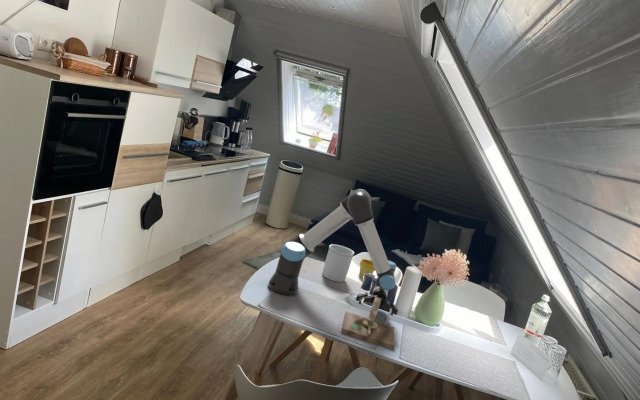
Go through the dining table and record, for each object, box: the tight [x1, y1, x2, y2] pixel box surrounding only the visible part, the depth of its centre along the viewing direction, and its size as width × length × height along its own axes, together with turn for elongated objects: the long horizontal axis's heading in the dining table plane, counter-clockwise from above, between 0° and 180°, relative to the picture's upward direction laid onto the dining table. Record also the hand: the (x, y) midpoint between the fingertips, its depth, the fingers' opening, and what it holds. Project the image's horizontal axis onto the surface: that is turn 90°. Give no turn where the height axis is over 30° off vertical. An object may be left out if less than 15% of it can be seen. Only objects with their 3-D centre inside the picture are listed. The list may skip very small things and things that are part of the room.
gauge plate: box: [340, 311, 396, 350], centre depth 230 cm, size 24×20×2 cm
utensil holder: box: [321, 243, 355, 283], centre depth 288 cm, size 15×15×18 cm
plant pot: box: [358, 258, 376, 279], centre depth 305 cm, size 10×10×10 cm
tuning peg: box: [362, 297, 381, 334], centre depth 227 cm, size 7×14×13 cm, turn 173°
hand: (375, 310), depth 229 cm, fingers open, 13 cm apart
